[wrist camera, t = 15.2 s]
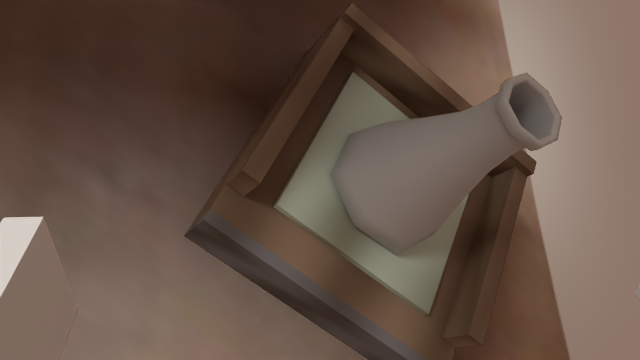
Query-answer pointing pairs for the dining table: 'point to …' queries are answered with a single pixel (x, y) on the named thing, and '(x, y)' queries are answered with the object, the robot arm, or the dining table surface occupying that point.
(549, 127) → the flask
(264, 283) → the dock
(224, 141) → the dining table surface
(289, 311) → the dining table surface
